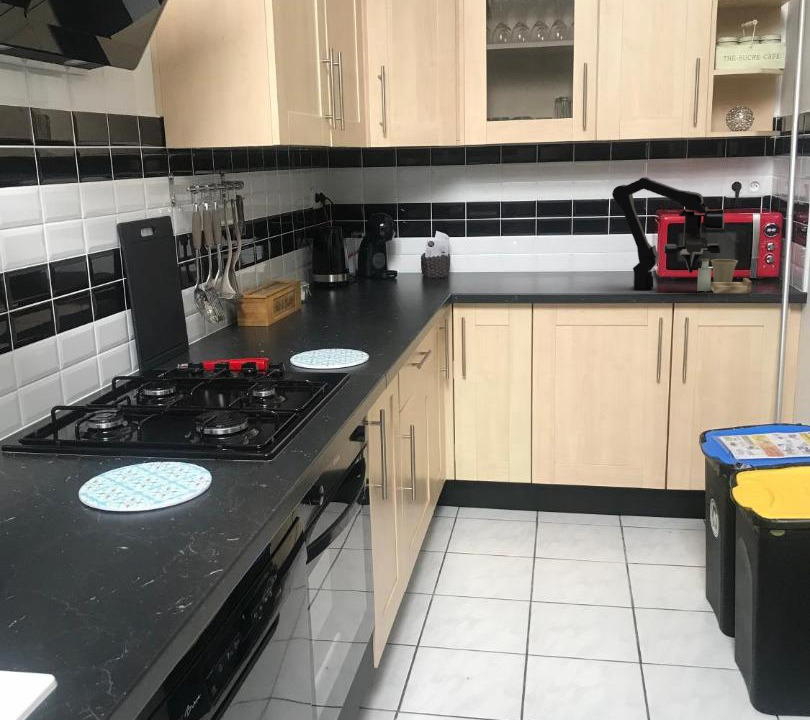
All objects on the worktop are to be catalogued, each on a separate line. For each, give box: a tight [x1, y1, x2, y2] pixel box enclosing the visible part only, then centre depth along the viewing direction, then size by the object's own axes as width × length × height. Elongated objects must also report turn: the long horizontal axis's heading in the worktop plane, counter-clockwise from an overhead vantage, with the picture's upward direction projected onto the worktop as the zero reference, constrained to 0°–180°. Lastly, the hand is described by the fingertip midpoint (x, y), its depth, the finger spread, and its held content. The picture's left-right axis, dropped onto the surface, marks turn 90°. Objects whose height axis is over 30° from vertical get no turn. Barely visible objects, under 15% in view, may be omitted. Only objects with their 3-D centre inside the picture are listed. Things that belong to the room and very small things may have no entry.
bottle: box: [696, 258, 712, 293], centre depth 299 cm, size 4×4×12 cm
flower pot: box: [710, 258, 738, 282], centre depth 313 cm, size 9×9×9 cm
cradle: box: [710, 277, 752, 294], centre depth 298 cm, size 12×9×4 cm
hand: (690, 272), depth 300 cm, fingers closed
